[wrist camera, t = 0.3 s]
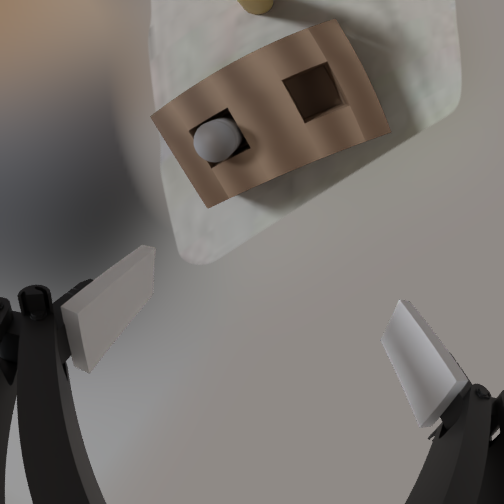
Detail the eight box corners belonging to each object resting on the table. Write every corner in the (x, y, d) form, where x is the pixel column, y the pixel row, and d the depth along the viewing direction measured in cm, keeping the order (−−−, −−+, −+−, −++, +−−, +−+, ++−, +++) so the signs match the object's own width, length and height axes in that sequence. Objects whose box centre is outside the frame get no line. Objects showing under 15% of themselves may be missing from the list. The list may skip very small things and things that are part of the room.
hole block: (329, 31, 25) (337, 13, 17) (375, 124, 31) (397, 135, 23) (174, 110, 34) (141, 119, 27) (222, 189, 40) (202, 215, 33)
